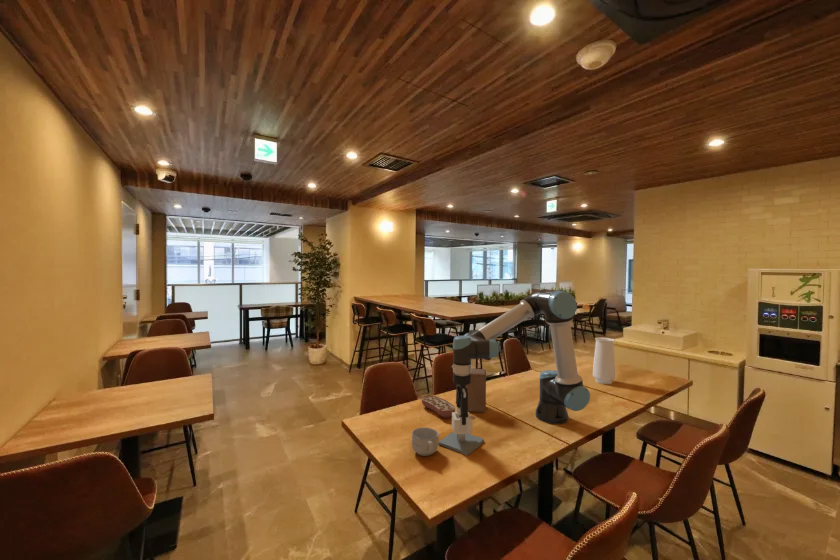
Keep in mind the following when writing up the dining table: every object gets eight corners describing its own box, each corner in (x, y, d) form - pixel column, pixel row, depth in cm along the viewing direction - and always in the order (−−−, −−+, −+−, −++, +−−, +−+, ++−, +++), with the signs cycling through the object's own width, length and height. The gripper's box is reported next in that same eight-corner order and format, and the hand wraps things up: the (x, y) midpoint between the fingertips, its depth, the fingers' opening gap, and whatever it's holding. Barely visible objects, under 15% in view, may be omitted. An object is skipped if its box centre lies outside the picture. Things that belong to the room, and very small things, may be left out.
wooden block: (485, 413, 177) (485, 374, 176) (465, 411, 179) (465, 373, 178) (485, 405, 187) (486, 368, 186) (467, 404, 189) (467, 367, 188)
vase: (619, 385, 220) (620, 341, 219) (598, 385, 220) (599, 341, 219) (608, 378, 233) (609, 337, 232) (588, 378, 233) (589, 337, 232)
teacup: (411, 445, 145) (411, 426, 145) (436, 444, 146) (437, 425, 146) (413, 464, 131) (413, 443, 131) (441, 463, 132) (441, 442, 132)
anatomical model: (418, 406, 186) (418, 397, 186) (433, 402, 192) (433, 393, 191) (444, 422, 167) (444, 412, 167) (460, 417, 172) (460, 407, 172)
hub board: (483, 441, 149) (484, 420, 148) (467, 455, 137) (468, 432, 137) (455, 432, 157) (455, 412, 157) (438, 444, 146) (438, 423, 145)
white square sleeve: (454, 434, 143) (454, 419, 143) (451, 426, 150) (451, 412, 150) (476, 433, 143) (477, 419, 143) (473, 425, 151) (473, 411, 151)
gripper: (449, 366, 156) (449, 417, 157) (457, 381, 136) (456, 439, 137) (466, 366, 156) (465, 416, 157) (476, 381, 136) (475, 438, 137)
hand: (461, 427), depth 147 cm, fingers closed on white square sleeve, 7 cm apart
